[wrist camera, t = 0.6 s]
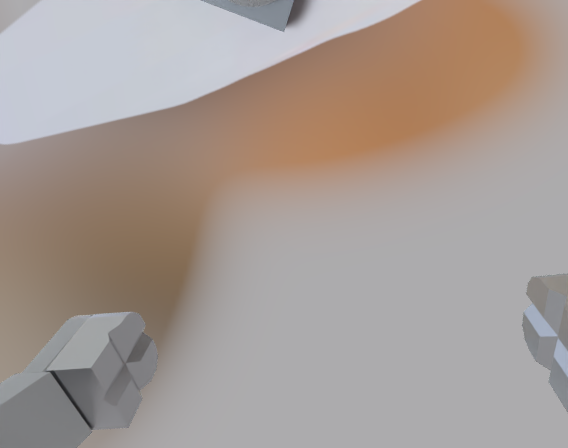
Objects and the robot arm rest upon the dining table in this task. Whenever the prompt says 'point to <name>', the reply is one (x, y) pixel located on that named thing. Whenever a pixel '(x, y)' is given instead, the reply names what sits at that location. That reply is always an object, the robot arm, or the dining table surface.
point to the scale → (260, 12)
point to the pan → (251, 2)
